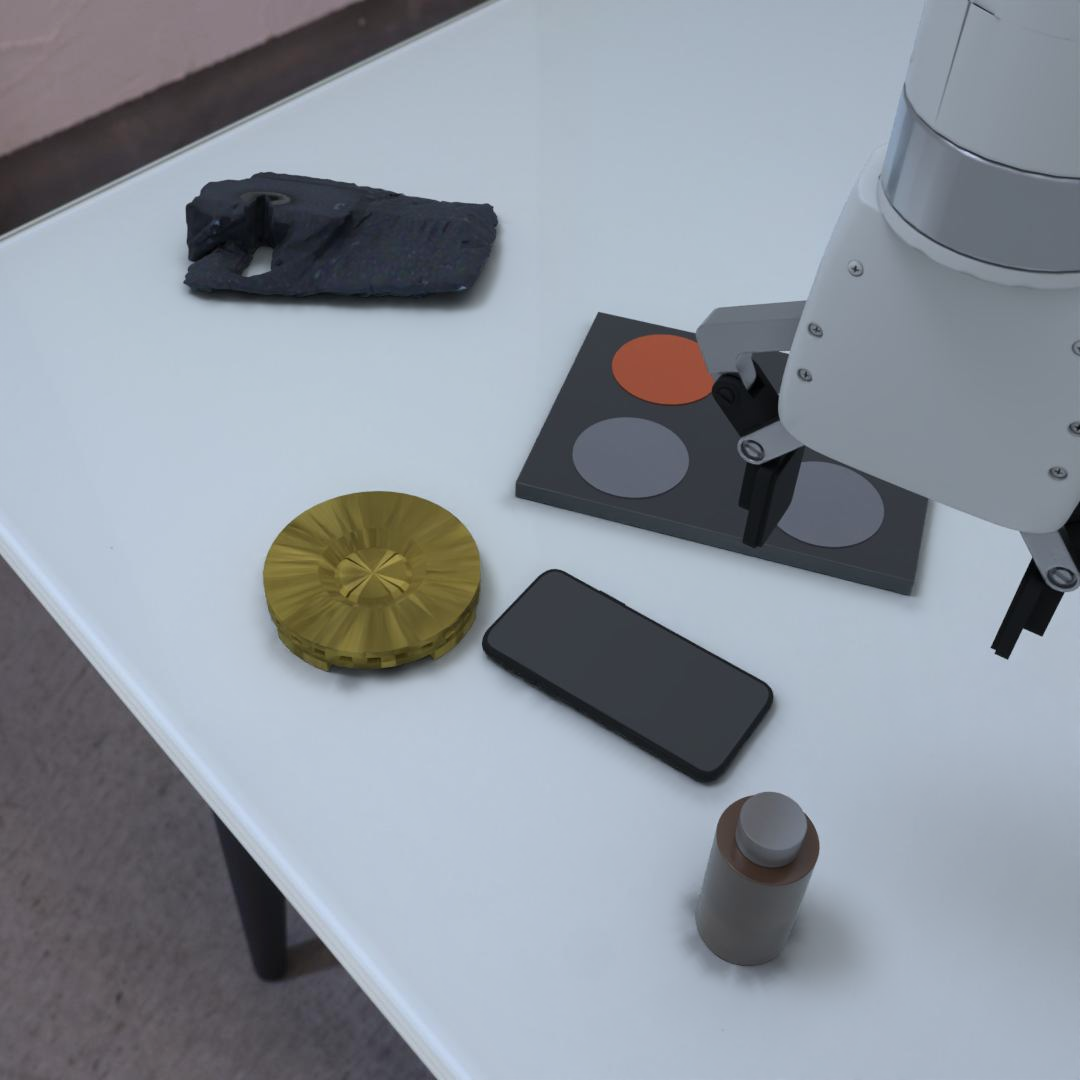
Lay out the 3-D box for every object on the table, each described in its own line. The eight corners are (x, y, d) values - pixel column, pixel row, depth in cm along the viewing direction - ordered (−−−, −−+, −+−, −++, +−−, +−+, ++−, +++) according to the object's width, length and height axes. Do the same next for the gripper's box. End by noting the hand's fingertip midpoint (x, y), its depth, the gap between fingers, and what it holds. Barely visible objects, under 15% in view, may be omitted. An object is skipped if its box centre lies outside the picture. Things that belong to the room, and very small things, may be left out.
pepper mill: (797, 894, 62) (834, 791, 56) (780, 978, 59) (817, 880, 53) (707, 867, 63) (733, 763, 57) (685, 949, 60) (710, 849, 54)
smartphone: (714, 784, 65) (472, 641, 71) (711, 794, 66) (472, 652, 71) (782, 688, 70) (550, 560, 75) (779, 698, 70) (549, 571, 76)
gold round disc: (493, 665, 71) (493, 640, 69) (269, 688, 70) (264, 663, 68) (467, 508, 79) (467, 482, 78) (266, 526, 78) (261, 500, 76)
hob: (942, 402, 87) (947, 387, 86) (909, 595, 75) (915, 580, 74) (597, 325, 92) (598, 310, 91) (514, 496, 80) (515, 481, 79)
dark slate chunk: (472, 332, 91) (472, 275, 87) (166, 296, 93) (153, 238, 89) (508, 210, 101) (509, 155, 98) (232, 180, 103) (223, 124, 99)
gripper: (1376, 202, 36) (1142, 607, 48) (791, 31, 41) (718, 433, 54) (1333, 347, 31) (1088, 752, 44) (684, 133, 37) (632, 545, 49)
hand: (884, 575), depth 49 cm, fingers open, 9 cm apart
